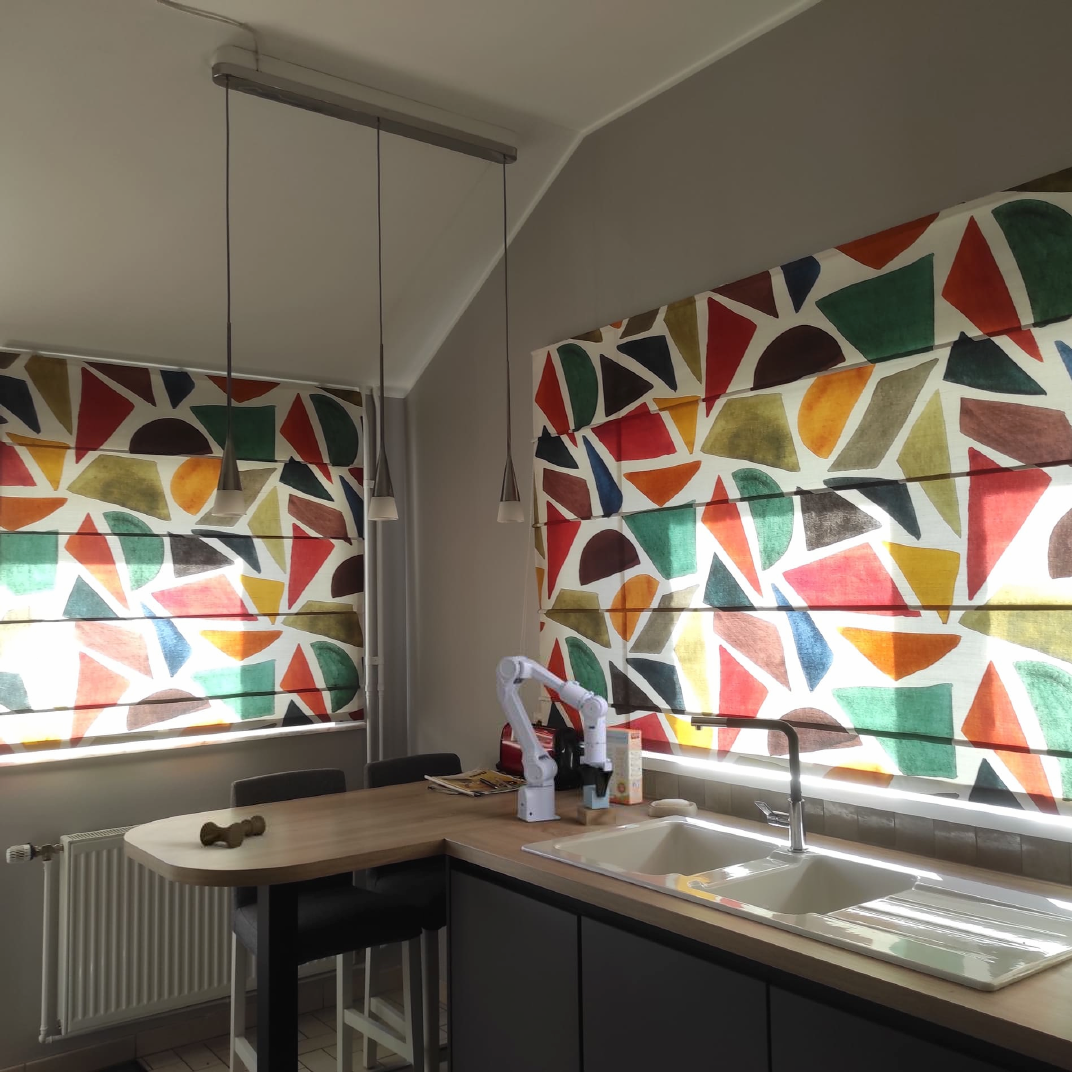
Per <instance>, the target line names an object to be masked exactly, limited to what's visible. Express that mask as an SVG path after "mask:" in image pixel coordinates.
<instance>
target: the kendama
mask: <svg viewBox="0 0 1072 1072" xmlns="http://www.w3.org/2000/svg"><path fill="white" fill-rule="evenodd" d="M266 824H267V823H266V820H265V818H264V817H263V816H262V815H253V816H252V817H250V819H243V820H241V821H240V822H234V823H231V824H230V825H228V826H226V827H221V826H218V824H216V823H215V822H213V821H208V822H205V823H204V824H203V825H202V826H201V828H200V831H199V841H200V843H201V844H202V845H203V846H211V845H213V844H216V843H219V842H220V843H221V842H222V843H225V845H227V846H228V847H230V848H231V849H235V848H236V849H237V848H239V847H241V846H242V845H243V843H244V841H245V838H249V837H252V836H253V835H254V836H262V835H263V834H264V833H265V831H266V827H267V825H266Z"/></svg>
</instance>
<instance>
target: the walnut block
mask: <svg viewBox="0 0 1072 1072" xmlns="http://www.w3.org/2000/svg"><path fill="white" fill-rule="evenodd" d="M616 810H617V809H615V808H614V807H612V806H610V805H609V807H607V808H598V809H591V808H589V807H586V806H584V804H583V805H582V804H581V805H576V814H577V816H576V819H577V821H578V822H579V823H581V824H583V825H584V826H585V827H594V826H607V825H608V826H610V825H617V811H616Z"/></svg>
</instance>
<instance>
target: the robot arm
mask: <svg viewBox="0 0 1072 1072" xmlns="http://www.w3.org/2000/svg"><path fill="white" fill-rule="evenodd" d="M496 666H497V667H496V668H495V675H496V696H497V698H498V701H499V702H500V705H501V707H502V709H503V712H504V714H505V716H506V718H507V721H508V724H509V725H510V729H511V730H512V732H513V735H514V737H515V739H516V742H517V743H518V746H519V747H520V750H521V752H522V757H521V763H522V766H523V776H524V778H525V780H526V782H527V784H526V785H522V786H520V787H519V788H518V792H517V811H518V812H517V815H516V817H518V818H520V819H521V820H523V821H526V822H528V823H531V822H541V821H551V820H560V819H561V816H559V815H558V814H556V813H555V812H556V809H555V807H556V806H555V803H556V801H555V780H554V778H555V776H556V775H557V773H558V765H557V762H556V761H555V760H554V759H553V758H552V757H551V756H550V754H549V753H548V750H546V748H544V747H543V746H542V745H541V743H540V740H539V739H538V736H537V734H536V732H535V729H534V727H533V725H532V722H531V721H530V718H529V716H528V714H527V711H526V710H525V707H524V705H523V704H524V703H523V702H522V700H521V698H520V696H519V693H518V692H519V690H520V687H521V685H522V683H523V681H524V680H525V679H533V680H535V681H537V682H538V683H541V684H542V685H544V686H546V687H548V688H549V689H552V690H553V691H555V692H556V693H557V694H558V696H559V699H560V700H561V701H563V703H565V704H567V705H569V706H570V707H572V708H573V709H575V710H577V712H578V711H579V712H580V714H581V715H582V717H583V718H584V720H583V721H584V723H583V724H584V725H583V726H584V732H583V734H584V740H583V742H584V755H583V756H580V757H579V760H580V761H579V763H580V765H579V766H578V770H579V772H580V775H581V776H582V780H583V783H584V786H589V785H595V786H596V794H597V797H605V796H606V791H607V787H608V783H609V780H610V778H611V776H612V774H613V770H612V763H610V759H608V758H606V727H607V726H606V715H607V713H608V710H609V704H608V702H607V700H606V699H605V697H603V696H601V695H595V692H593V691H592V690H591V691H589V690H587V689H586V688H584V687H582V686H580V682H578V681H577V680H576V681H572V680H568V681H564V680H562V679H561V678H560V677H557V676H556V675H555V674H554V673H552V672H551V671H549V670H547V669H546V668H545V667H543V666H542V665H541V664H539V663H538V662H536V661H535V660H533V659H531V658H528V657H526V656H525V655H521V654H520V655H516V656H504V657H503V658H501V659H500V661H499V662H498V665H496Z"/></svg>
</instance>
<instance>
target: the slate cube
mask: <svg viewBox="0 0 1072 1072" xmlns="http://www.w3.org/2000/svg"><path fill="white" fill-rule="evenodd" d="M582 788H583V789H582V790H583V805H584V806H586V807H589V808H591V809H598V808H607V807H609V806H610V801H609V788H608V787H607V791H606V796H605V797H597V794H596V786H595V785H589V786H585V785H583V787H582Z"/></svg>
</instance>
